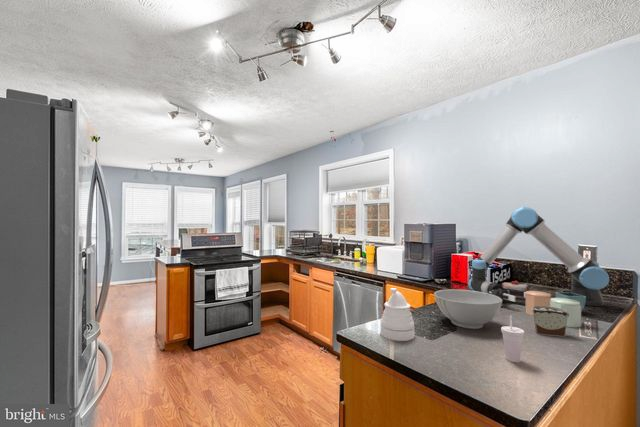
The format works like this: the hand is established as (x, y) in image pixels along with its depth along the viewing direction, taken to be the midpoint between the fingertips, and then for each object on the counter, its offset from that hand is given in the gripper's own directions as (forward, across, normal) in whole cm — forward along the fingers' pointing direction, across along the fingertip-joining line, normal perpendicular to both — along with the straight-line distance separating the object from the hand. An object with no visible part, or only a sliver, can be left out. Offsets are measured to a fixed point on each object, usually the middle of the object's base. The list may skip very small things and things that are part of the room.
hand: (525, 298), depth 153 cm
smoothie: (+44, +55, -6) cm, 71 cm away
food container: (+28, +20, -6) cm, 35 cm away
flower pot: (+8, -18, -6) cm, 21 cm away
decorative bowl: (+11, +45, -6) cm, 46 cm away
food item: (-22, -18, -6) cm, 30 cm away
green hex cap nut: (+20, +2, -6) cm, 21 cm away
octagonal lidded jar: (+7, 0, -6) cm, 9 cm away
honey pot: (+15, +81, -6) cm, 82 cm away
